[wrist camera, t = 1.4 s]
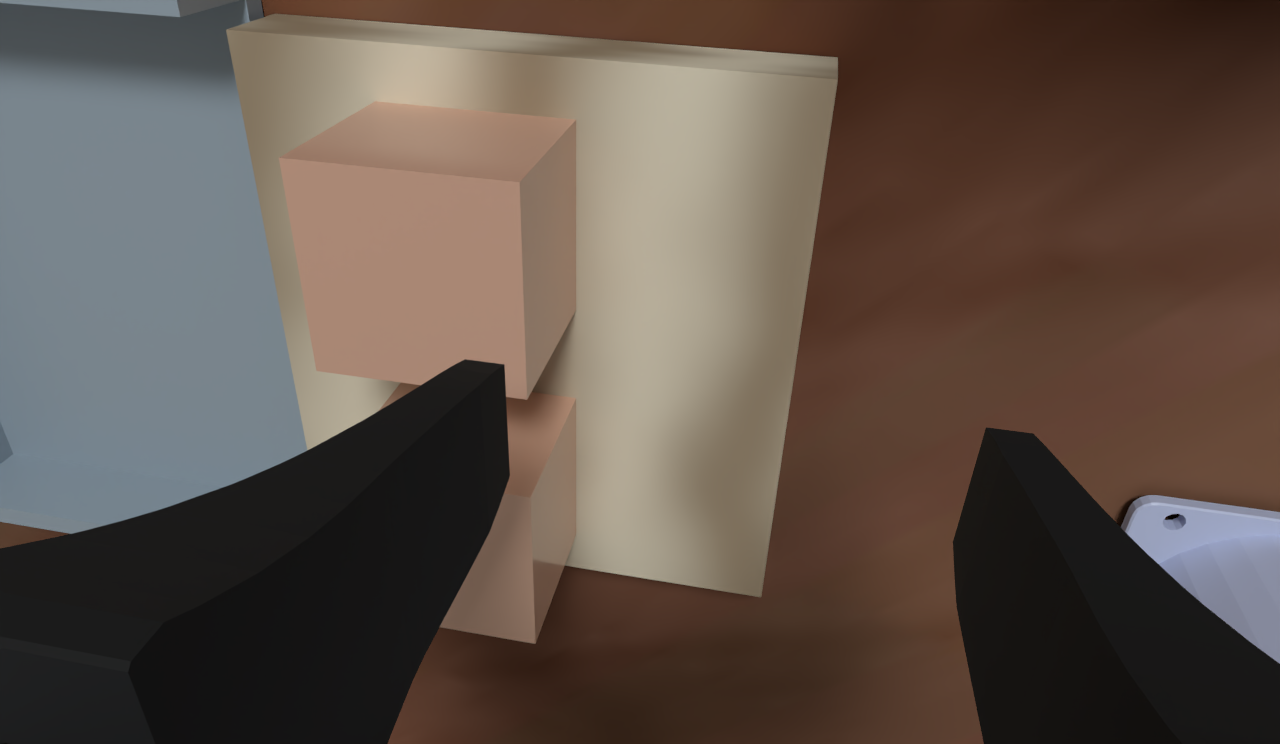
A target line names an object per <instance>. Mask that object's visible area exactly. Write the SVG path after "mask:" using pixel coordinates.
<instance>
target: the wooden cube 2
mask: <svg viewBox="0 0 1280 744" xmlns="http://www.w3.org/2000/svg"><path fill="white" fill-rule="evenodd" d="M419 386H420V385H415V384H408V383H400V384H399V385H398V387H397V388H396V389H395V391H394V392H393V393H392V394H391V396H390V397H389V398H388V399H387V401H386V402H385V403H384V404H383V406H382V407H381V408H380V410H381V409H383V408H384V407H386V406H388V405H389V404H391V403H393V402H394V401H396V400H398V399H399V398H401V397H403V396H404V395H406V394H408V393H409V392H411V391H412V390H414V389H416V388H417V387H419ZM506 406H507V426H508V446H509V467H510V477H509V480H508V483H507V486H506V489H505V492H504V495H503V497H502V500H501V503H500V506H499V509H498V511H497V514H496V517H495V519H494V522H493V525H492V527H491V530H490V532H489V534H488V536H487V538H486V540H485V542H484V544H483V546H482V548H481V550H480V552H479V554H478V556H477V558H476V560H475V561H474V563H473V565H472V567H471V569H470V571H469V573H468V575H467V577H466V579H465V580H464V582H463V584H462V586H461V588H460V590H459V592H458V593H457V595H456V597H455V599H454V601H453V603H452V605H451V607H450V608H449V610H448V612H447V614H446V616H445V618H444V620H443V621H442V623H441V625H440V627H442V628H447V629H453V630H459V631H464V632H470V633H476V634H482V635H487V636H493V637H499V638H504V639H510V640H516V641H521V642H527V643H533V644H536V641H537V639H538V636H539V633H540V630H541V628H542V625H543V622H544V620H545V617H546V614H547V612H548V609H549V606H550V604H551V601H552V598H553V595H554V593H555V590H556V587H557V585H558V582H559V579H560V577H561V574H562V571H563V569H564V566H565V563H566V560H567V558H568V555H569V552H570V550H571V547H572V544H573V542H574V539H575V536H576V398H572V397H565V396H557V395H550V394H542V393H535V392H531V394H530V395H529V397H528V399H527V400H525V399H518V398H511V397H506ZM380 410H379V411H380Z"/></svg>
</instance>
